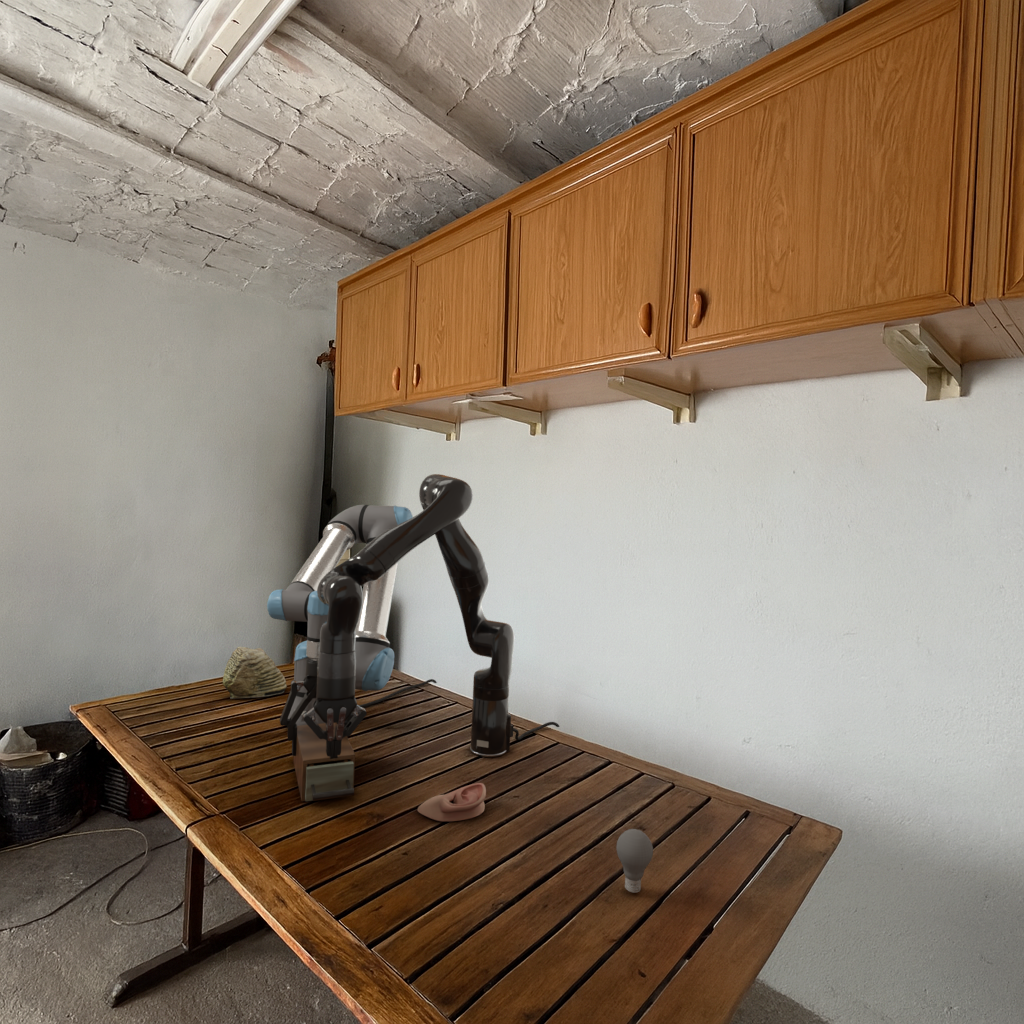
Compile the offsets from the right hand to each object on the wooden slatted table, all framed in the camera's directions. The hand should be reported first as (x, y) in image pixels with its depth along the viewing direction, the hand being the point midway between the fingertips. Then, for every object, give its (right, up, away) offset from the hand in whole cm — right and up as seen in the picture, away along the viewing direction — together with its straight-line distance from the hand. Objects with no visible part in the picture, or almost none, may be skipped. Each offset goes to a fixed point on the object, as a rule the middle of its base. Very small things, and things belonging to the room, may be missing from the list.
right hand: (333, 757), depth 128 cm
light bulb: (+56, -14, -23) cm, 62 cm away
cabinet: (-7, -10, +15) cm, 19 cm away
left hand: (-9, -6, +20) cm, 23 cm away
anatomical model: (+24, -12, +2) cm, 27 cm away
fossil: (-44, -8, +70) cm, 83 cm away
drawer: (-4, -9, +9) cm, 14 cm away
